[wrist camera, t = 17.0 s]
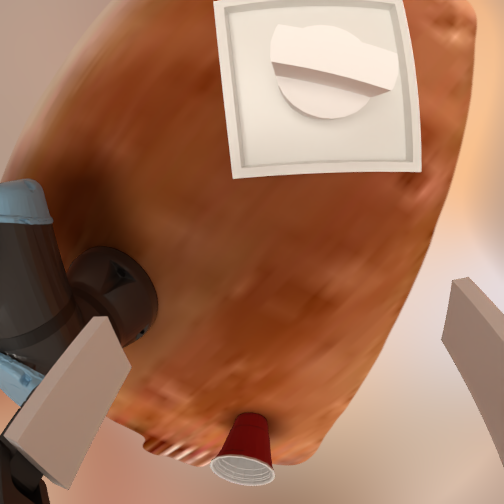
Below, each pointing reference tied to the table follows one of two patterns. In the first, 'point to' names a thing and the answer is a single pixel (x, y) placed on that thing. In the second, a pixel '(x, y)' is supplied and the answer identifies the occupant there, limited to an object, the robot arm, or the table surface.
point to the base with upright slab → (329, 70)
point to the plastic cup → (246, 453)
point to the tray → (301, 127)
